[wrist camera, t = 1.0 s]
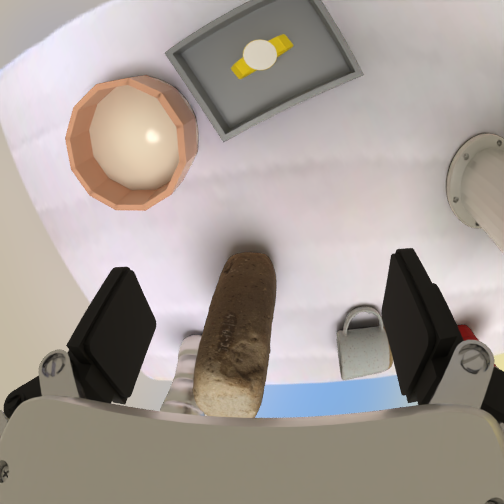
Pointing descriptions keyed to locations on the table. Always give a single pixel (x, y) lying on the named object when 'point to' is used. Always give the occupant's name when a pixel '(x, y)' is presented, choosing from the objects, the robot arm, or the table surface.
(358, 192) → the table surface
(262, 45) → the watch
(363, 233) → the table surface
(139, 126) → the bowl
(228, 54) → the parts tray
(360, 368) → the ceramic mug
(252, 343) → the stone
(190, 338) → the plastic bottle
